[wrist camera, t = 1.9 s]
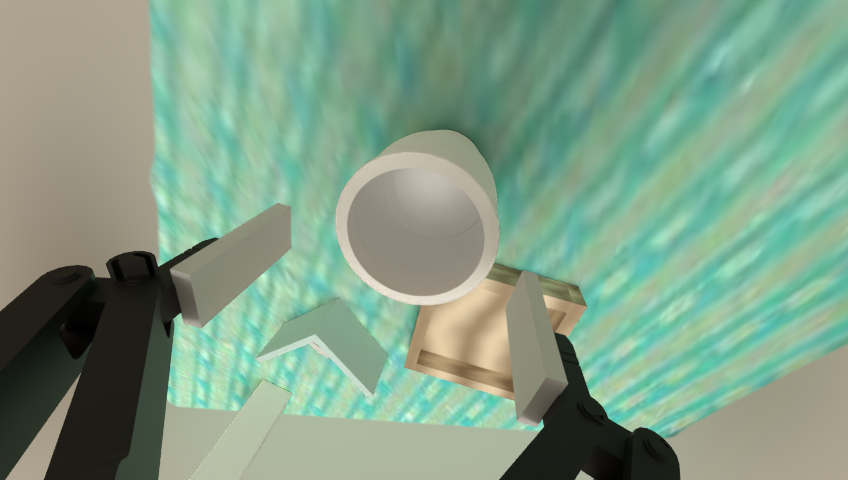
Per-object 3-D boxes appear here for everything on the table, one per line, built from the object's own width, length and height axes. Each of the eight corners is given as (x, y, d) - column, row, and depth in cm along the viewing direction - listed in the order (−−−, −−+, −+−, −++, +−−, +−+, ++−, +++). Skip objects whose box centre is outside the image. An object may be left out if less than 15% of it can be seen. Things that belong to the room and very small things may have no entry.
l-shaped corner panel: (286, 320, 48) (255, 358, 41) (341, 295, 43) (315, 334, 37) (334, 369, 52) (312, 411, 45) (388, 351, 47) (373, 395, 40)
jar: (485, 223, 33) (486, 317, 20) (395, 213, 35) (341, 294, 22) (502, 121, 28) (516, 159, 15) (395, 113, 30) (324, 143, 17)
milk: (263, 378, 56) (147, 534, 37) (292, 392, 56) (193, 554, 37) (257, 394, 59) (146, 546, 40) (285, 408, 59) (189, 564, 40)
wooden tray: (578, 287, 35) (587, 306, 32) (521, 381, 44) (523, 403, 41) (437, 247, 36) (432, 263, 33) (409, 347, 45) (403, 367, 42)
